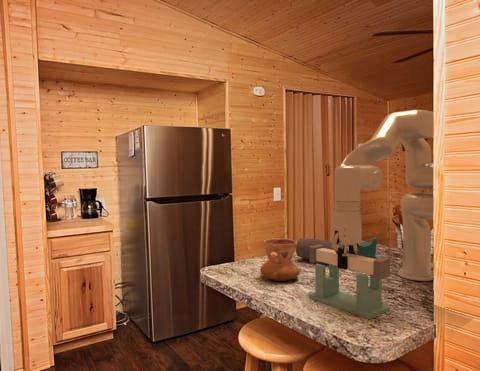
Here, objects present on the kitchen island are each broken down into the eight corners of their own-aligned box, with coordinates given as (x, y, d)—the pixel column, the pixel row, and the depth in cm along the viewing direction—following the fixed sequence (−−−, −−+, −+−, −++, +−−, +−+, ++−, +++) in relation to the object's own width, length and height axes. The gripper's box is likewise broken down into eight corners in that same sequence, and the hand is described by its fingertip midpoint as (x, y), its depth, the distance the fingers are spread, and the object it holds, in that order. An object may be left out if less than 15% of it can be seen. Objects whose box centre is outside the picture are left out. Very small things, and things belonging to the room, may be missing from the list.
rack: (328, 290, 124) (328, 258, 123) (389, 310, 106) (390, 272, 106) (308, 297, 117) (308, 263, 117) (370, 319, 100) (370, 279, 100)
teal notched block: (374, 262, 161) (376, 239, 160) (348, 259, 164) (351, 236, 163) (371, 253, 178) (373, 232, 177) (348, 250, 181) (350, 229, 180)
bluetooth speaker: (295, 261, 162) (295, 239, 162) (304, 257, 170) (304, 235, 169) (345, 269, 149) (345, 245, 148) (353, 264, 156) (353, 241, 155)
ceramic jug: (292, 287, 128) (293, 246, 127) (253, 282, 133) (253, 243, 133) (304, 274, 144) (305, 238, 144) (269, 270, 150) (269, 235, 149)
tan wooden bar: (319, 259, 122) (319, 244, 122) (389, 276, 103) (390, 258, 103) (309, 261, 119) (309, 246, 119) (379, 279, 100) (380, 261, 100)
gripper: (353, 204, 118) (352, 260, 119) (319, 207, 108) (319, 269, 109) (374, 206, 112) (373, 265, 113) (340, 210, 102) (340, 275, 103)
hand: (346, 266), depth 111 cm, fingers closed on tan wooden bar, 3 cm apart
